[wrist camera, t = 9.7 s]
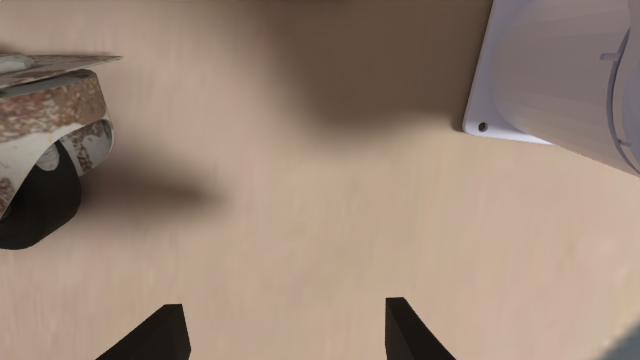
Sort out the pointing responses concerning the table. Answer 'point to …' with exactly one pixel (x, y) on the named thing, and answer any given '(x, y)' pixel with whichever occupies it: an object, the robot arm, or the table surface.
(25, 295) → the table surface
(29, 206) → the caster wheel
